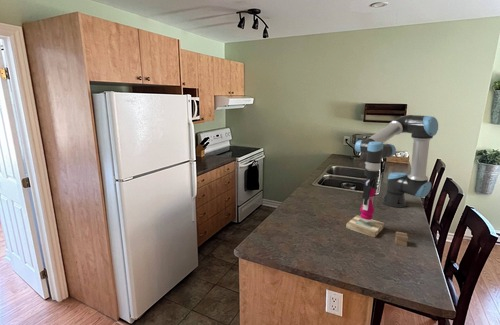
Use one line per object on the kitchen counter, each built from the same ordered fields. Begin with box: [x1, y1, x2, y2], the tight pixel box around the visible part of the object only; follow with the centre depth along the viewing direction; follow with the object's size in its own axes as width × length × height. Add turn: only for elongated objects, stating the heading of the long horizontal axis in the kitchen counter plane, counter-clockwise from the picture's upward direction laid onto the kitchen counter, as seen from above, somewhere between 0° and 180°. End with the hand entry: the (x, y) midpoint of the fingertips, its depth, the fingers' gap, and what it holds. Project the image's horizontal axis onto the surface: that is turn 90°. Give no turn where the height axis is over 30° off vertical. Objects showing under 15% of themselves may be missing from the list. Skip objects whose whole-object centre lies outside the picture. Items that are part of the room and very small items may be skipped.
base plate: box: [345, 214, 385, 238], centre depth 158 cm, size 16×16×3 cm
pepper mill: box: [360, 188, 376, 220], centre depth 154 cm, size 7×7×20 cm
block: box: [394, 231, 409, 247], centre depth 142 cm, size 5×5×5 cm
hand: (367, 207), depth 155 cm, fingers closed on pepper mill, 6 cm apart
